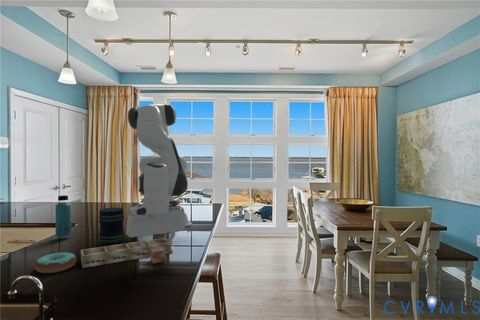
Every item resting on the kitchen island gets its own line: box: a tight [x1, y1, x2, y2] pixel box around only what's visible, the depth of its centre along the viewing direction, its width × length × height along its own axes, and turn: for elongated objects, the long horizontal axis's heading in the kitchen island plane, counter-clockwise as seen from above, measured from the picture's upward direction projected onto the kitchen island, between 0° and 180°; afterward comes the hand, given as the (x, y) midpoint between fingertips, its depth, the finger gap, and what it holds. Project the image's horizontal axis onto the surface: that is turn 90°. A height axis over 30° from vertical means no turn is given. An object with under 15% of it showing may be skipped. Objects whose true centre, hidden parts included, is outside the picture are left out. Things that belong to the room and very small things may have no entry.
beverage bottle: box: [55, 195, 72, 238], centre depth 137 cm, size 6×7×20 cm
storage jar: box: [98, 207, 125, 247], centre depth 127 cm, size 10×10×15 cm
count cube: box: [149, 248, 166, 264], centre depth 105 cm, size 4×4×4 cm
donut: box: [34, 252, 77, 274], centre depth 99 cm, size 12×12×4 cm
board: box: [80, 237, 173, 269], centre depth 111 cm, size 31×10×4 cm, turn 121°
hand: (156, 246), depth 105 cm, fingers open, 8 cm apart
